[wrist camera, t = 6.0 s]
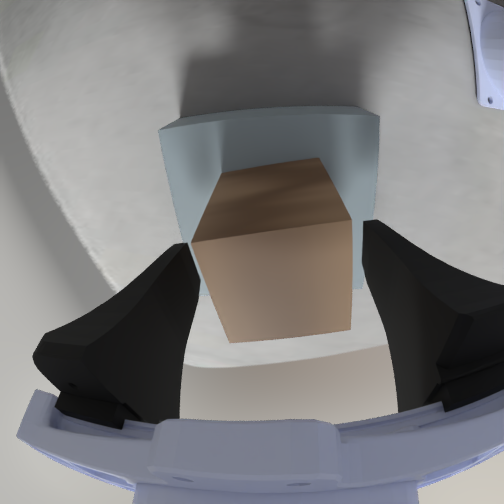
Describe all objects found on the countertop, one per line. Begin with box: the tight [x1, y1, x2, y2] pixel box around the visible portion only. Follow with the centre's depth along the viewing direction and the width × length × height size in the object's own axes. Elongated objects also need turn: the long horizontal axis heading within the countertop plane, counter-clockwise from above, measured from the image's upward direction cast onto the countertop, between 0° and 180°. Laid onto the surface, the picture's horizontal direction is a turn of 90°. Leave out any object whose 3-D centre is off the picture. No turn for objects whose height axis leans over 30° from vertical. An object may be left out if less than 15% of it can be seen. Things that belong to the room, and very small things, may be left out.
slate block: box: [158, 106, 380, 296], centre depth 16 cm, size 10×10×4 cm
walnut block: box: [191, 158, 353, 343], centre depth 11 cm, size 4×4×6 cm
